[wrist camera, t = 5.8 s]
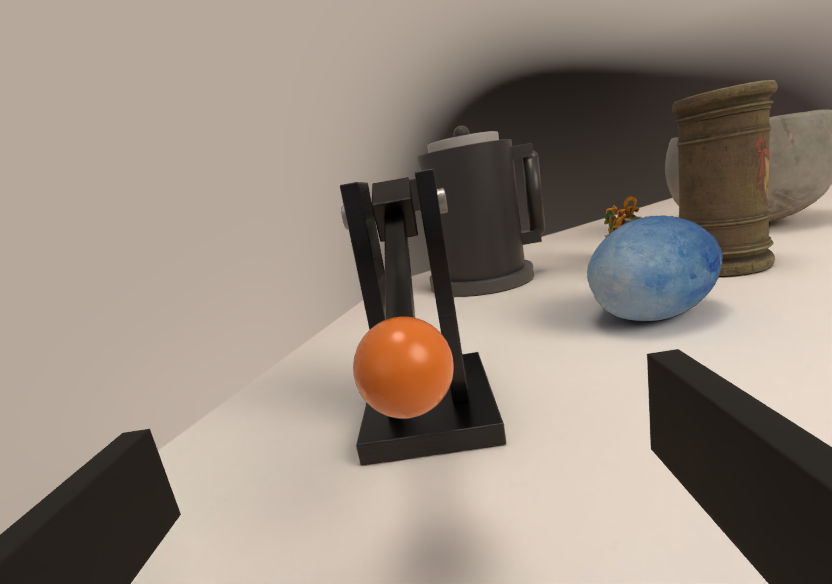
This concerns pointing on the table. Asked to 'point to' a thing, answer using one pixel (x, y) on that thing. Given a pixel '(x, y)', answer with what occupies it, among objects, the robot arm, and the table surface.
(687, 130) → the container
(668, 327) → the table surface
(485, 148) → the kettle
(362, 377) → the switch
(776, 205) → the bowl
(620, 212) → the figurine
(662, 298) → the egg
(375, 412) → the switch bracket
